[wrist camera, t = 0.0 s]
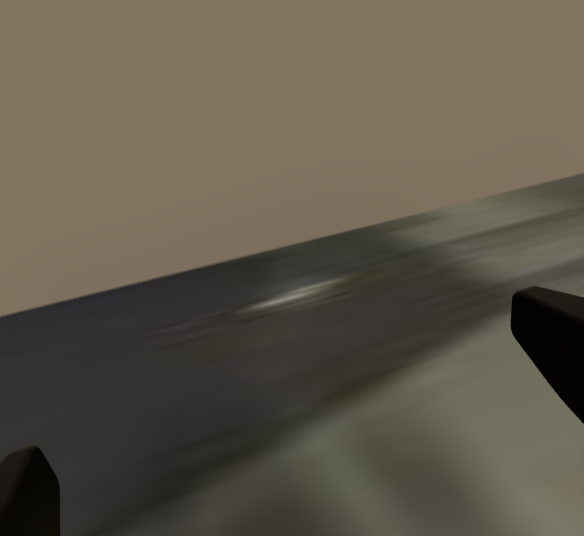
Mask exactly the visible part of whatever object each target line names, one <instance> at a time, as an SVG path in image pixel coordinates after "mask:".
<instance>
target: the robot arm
mask: <svg viewBox="0 0 584 536" xmlns="http://www.w3.org/2000/svg"><path fill="white" fill-rule="evenodd" d="M511 331H512V334H513V336H514V337H515V339H516V340H517V342H518V343H519V344H520V346H521V347H522V348H523V350H524V351H525V352H526V354H527V355H528V356H529V358H530V359H531V360H532V362H533V363H534V364H535V366H536V367H537V368H538V370H539V371H540V372H541V374H542V375H543V376H544V378H545V379H546V380H547V382H548V383H549V384H550V386H551V387H552V388H553V389H554V391H555V392H556V393H557V394H558V396H559V397H560V398H561V399H562V400H563V402H564V403H565V404H566V405H567V406H568V407H569V408H570V410H571V411H572V412H573V413H574V414H575V415H576V416H577V417H578V418H579V419H580V420H581V421H582V423H583V424H584V297H580V296H576V295H571V294H567V293H563V292H558V291H554V290H550V289H546V288H541V287H537V286H532V287H528V288H525V289H522V290H519V291H517V292H515V293H514V295H513V297H512V309H511ZM0 536H60V487H59V482H58V479H57V476H56V475H55V473H54V471H53V469H52V468H51V466H50V464H49V463H48V461H47V459H46V458H45V456H44V454H43V453H42V451H41V450H40V448H38V447H37V446H33V445H32V446H28V447H25V448H22V449H19V450H16V451H13V452H11V453H9V454H8V455H7V456H6V457H5V458H4V459H3V461H2V462H1V463H0Z"/></svg>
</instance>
